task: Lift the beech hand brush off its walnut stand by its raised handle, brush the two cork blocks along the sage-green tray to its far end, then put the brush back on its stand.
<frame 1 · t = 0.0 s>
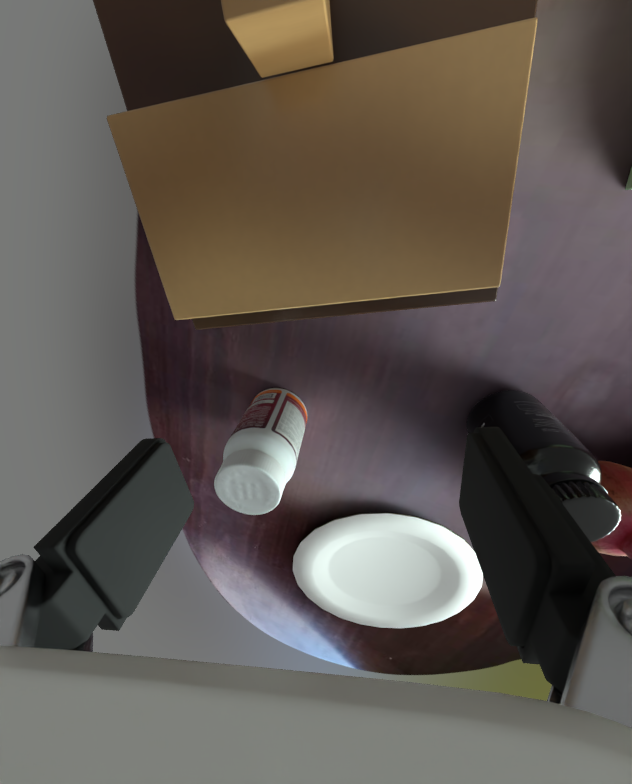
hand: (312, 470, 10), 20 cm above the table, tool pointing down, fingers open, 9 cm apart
supplement bottle: (500, 417, 30), on the table
plate: (382, 566, 43), on the table
pill bottle: (280, 410, 33), on the table
brush: (323, 210, 12), point 14 cm above the table, touching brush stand
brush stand: (336, 162, 22), on the table
fruit: (574, 471, 32), on the table
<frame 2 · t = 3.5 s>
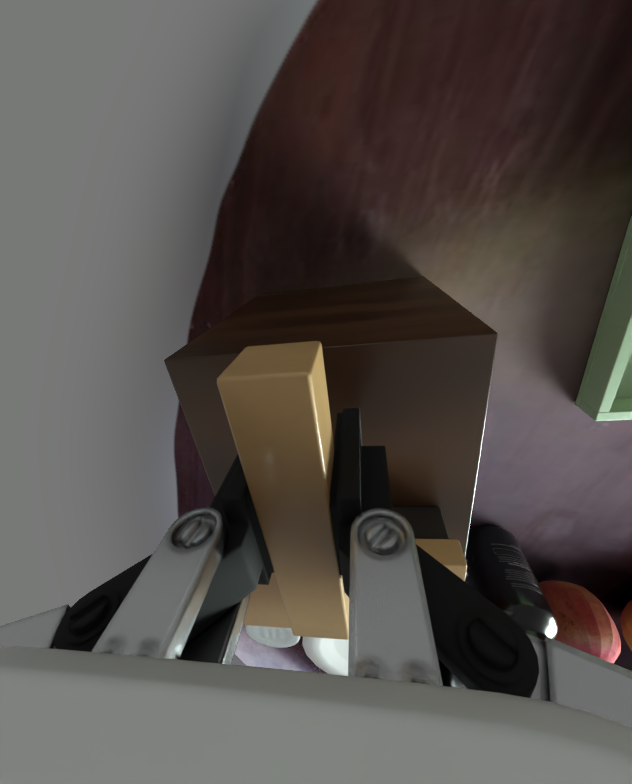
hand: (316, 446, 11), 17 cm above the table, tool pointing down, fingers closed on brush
supplement bottle: (482, 541, 36), on the table
plate: (382, 641, 49), on the table
pill bottle: (294, 527, 38), on the table
brush: (341, 538, 17), point 14 cm above the table, touching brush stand, gripper
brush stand: (345, 373, 28), on the table
fruit: (546, 581, 38), on the table
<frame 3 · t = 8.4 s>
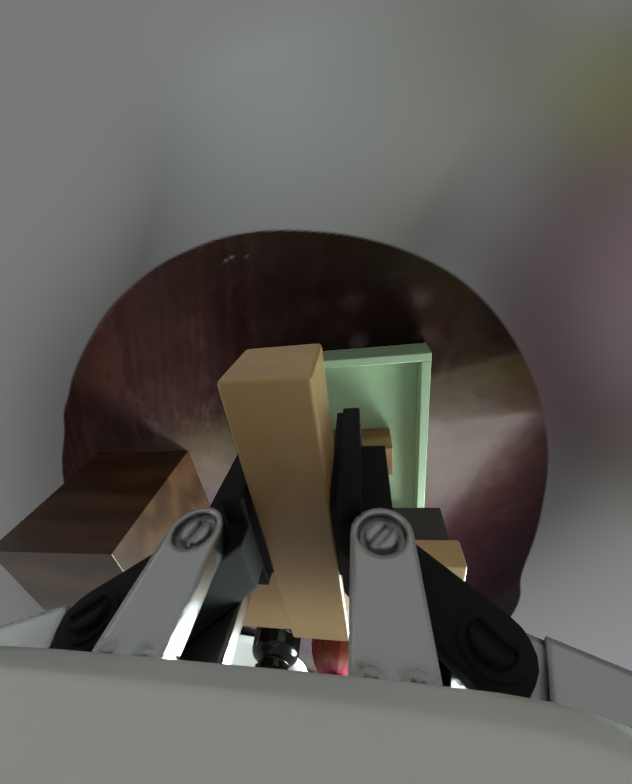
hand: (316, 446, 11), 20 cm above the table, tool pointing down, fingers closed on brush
supplement bottle: (286, 590, 52), on the table
plate: (250, 655, 65), on the table
brush: (341, 539, 17), point 18 cm above the table, touching gripper
cork block 2: (373, 441, 34), point 1 cm above the table, touching tray
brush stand: (162, 494, 43), on the table
tray: (351, 445, 36), on the table
fruit: (338, 616, 54), on the table
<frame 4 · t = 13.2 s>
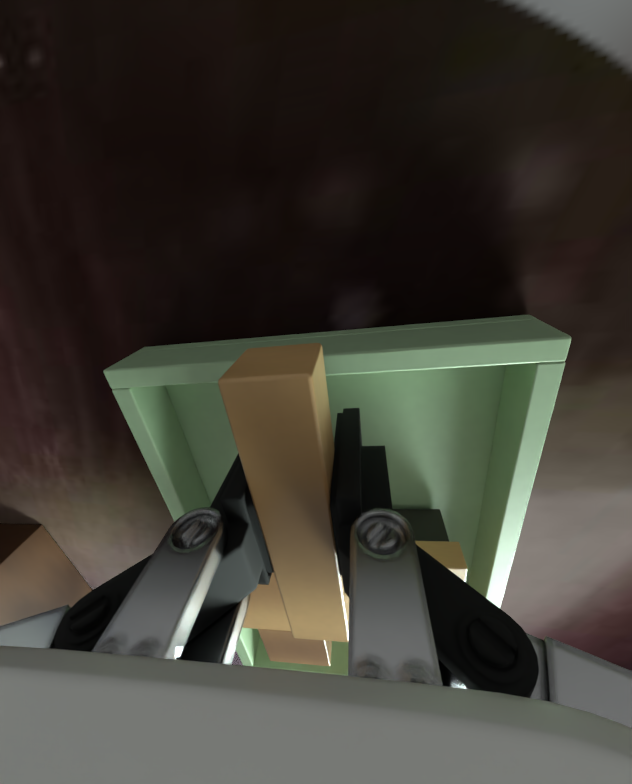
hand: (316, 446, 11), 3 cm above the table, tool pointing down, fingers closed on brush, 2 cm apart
brush: (341, 540, 17), point 1 cm above the table, touching cork block 2, gripper
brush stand: (23, 585, 26), on the table
tray: (341, 530, 18), on the table
cork block 1: (304, 582, 20), point 1 cm above the table, touching tray
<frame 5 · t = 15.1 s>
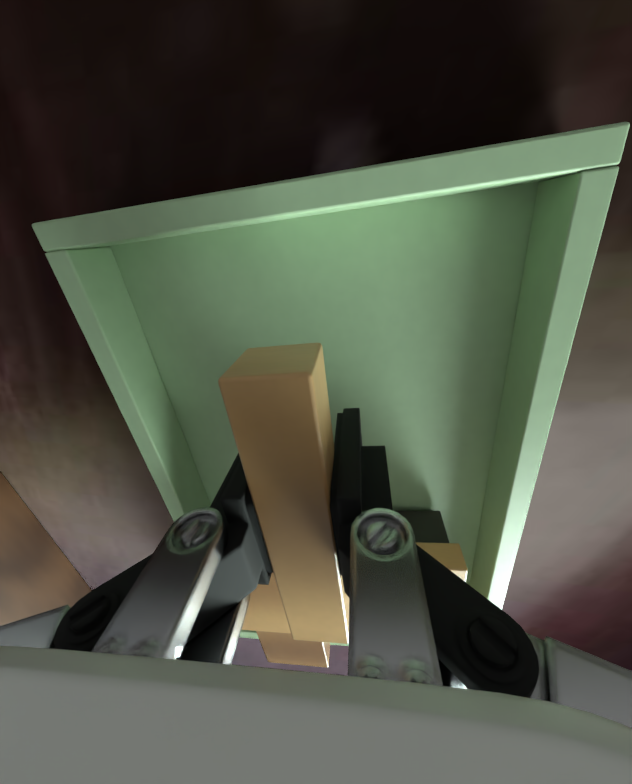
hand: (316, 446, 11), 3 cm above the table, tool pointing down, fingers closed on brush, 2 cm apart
brush: (341, 542, 17), point 1 cm above the table, touching cork block 1, cork block 2, gripper
tray: (334, 466, 16), on the table
cork block 1: (302, 583, 20), point 1 cm above the table, touching brush, tray
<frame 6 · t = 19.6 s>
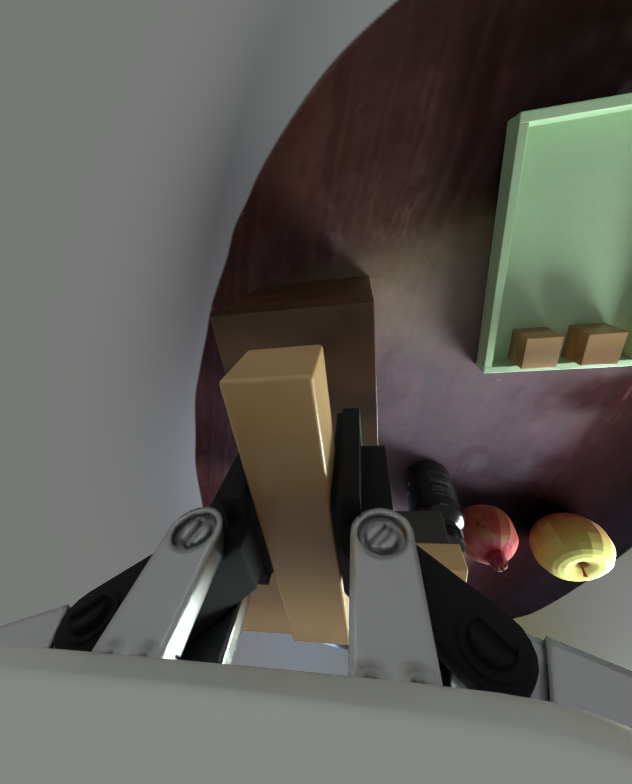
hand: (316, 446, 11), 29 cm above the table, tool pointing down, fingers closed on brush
supplement bottle: (425, 475, 48), on the table
brush: (341, 543, 17), point 26 cm above the table, touching gripper
cork block 2: (582, 338, 35), point 1 cm above the table, touching tray
apple: (554, 523, 49), on the table
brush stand: (319, 343, 39), on the table
tray: (570, 254, 32), on the table
cork block 1: (526, 342, 36), point 1 cm above the table, touching tray
fruit: (475, 508, 50), on the table
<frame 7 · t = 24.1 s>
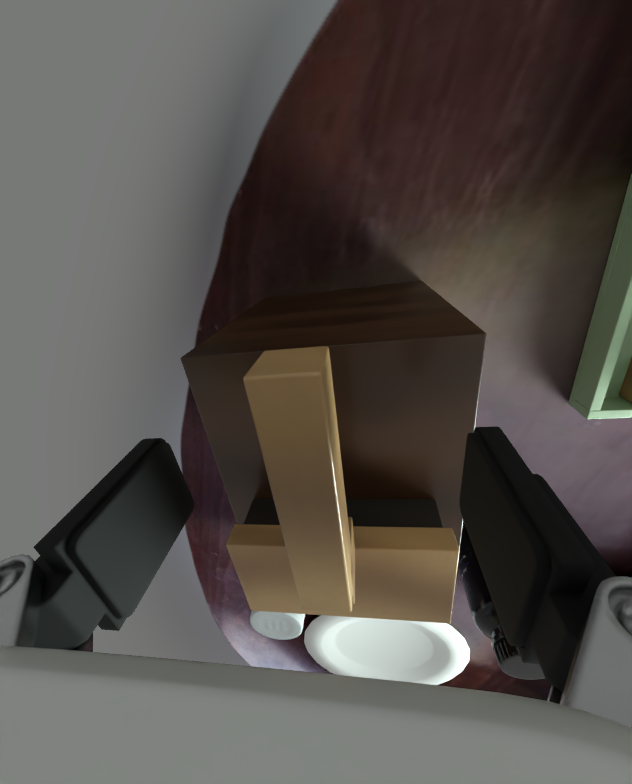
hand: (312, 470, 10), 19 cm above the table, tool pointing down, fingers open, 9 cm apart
supplement bottle: (480, 538, 37), on the table
plate: (382, 638, 49), on the table
pill bottle: (296, 524, 39), on the table
brush: (343, 529, 18), point 14 cm above the table, touching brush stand
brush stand: (346, 373, 29), on the table
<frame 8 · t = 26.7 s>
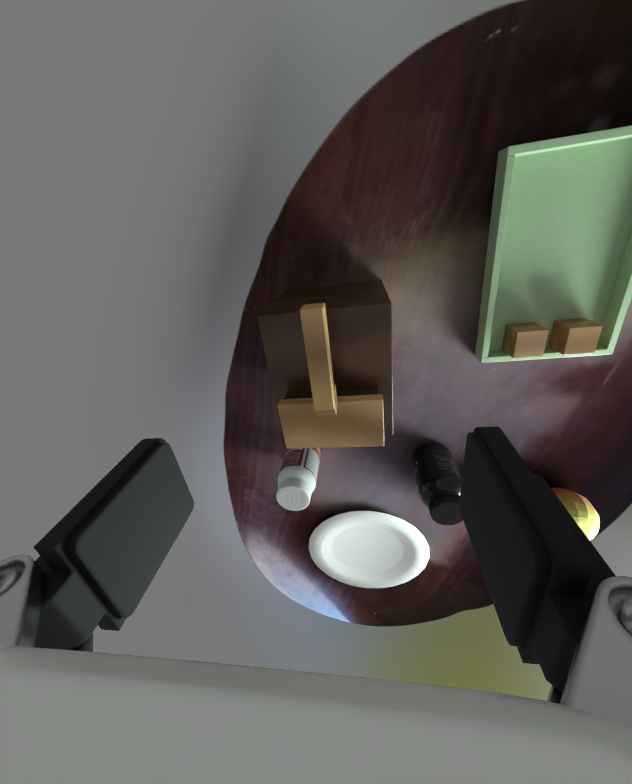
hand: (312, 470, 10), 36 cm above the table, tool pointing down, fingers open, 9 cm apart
supplement bottle: (430, 456, 53), on the table
plate: (367, 545, 66), on the table
pill bottle: (304, 450, 56), on the table
brush: (333, 409, 35), point 14 cm above the table, touching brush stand
cork block 2: (565, 332, 41), point 1 cm above the table, touching tray
apple: (546, 498, 55), on the table
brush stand: (337, 338, 45), on the table
tray: (553, 260, 37), on the table
cork block 1: (517, 335, 42), point 1 cm above the table, touching tray
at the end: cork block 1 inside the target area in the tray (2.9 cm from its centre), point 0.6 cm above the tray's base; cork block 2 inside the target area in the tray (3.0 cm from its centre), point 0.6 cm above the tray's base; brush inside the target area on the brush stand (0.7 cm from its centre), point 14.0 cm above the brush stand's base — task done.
